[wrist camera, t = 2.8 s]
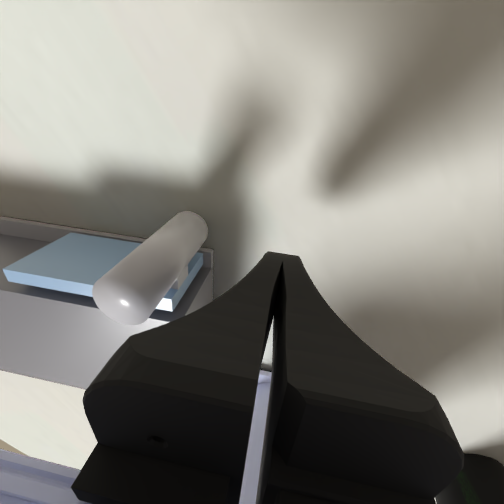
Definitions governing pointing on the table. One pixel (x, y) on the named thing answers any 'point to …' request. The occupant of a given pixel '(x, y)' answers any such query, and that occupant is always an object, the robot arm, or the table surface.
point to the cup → (475, 483)
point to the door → (120, 268)
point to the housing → (69, 313)
